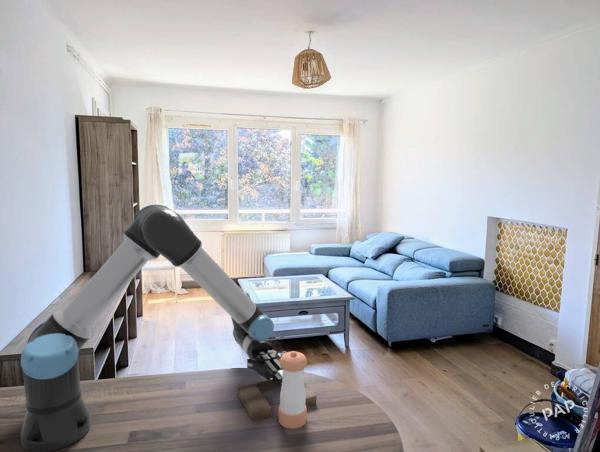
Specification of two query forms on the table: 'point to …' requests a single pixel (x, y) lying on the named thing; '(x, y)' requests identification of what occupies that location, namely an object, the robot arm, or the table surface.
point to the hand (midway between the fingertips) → (289, 386)
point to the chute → (258, 403)
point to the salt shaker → (293, 390)
